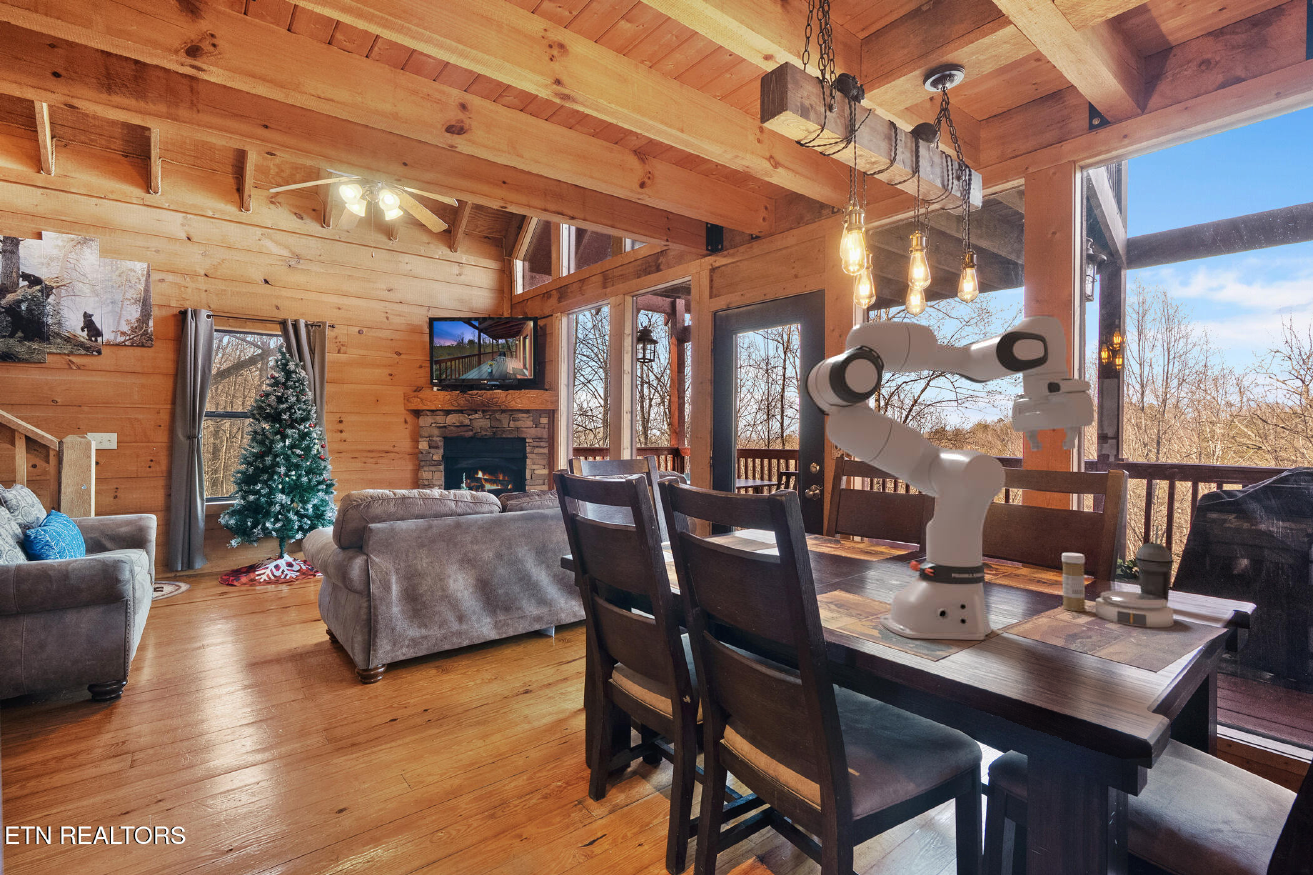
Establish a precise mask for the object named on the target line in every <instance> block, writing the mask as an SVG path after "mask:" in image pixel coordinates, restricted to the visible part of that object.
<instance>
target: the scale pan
mask: <svg viewBox="0 0 1313 875" xmlns="http://www.w3.org/2000/svg"><path fill="white" fill-rule="evenodd" d="M1100 598H1101V599H1102V600H1103V601H1105V602H1108V603H1112V604H1115V605H1120V606H1126V607H1132V608H1142V609H1163V608H1166V607H1167V606H1168V603H1167V601H1166V600H1165V599H1163V598H1160V597H1156V596H1152V595H1148V594H1142V593H1141V592H1132V591H1124V590H1109V591H1102V592H1101V593H1100Z"/></svg>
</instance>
